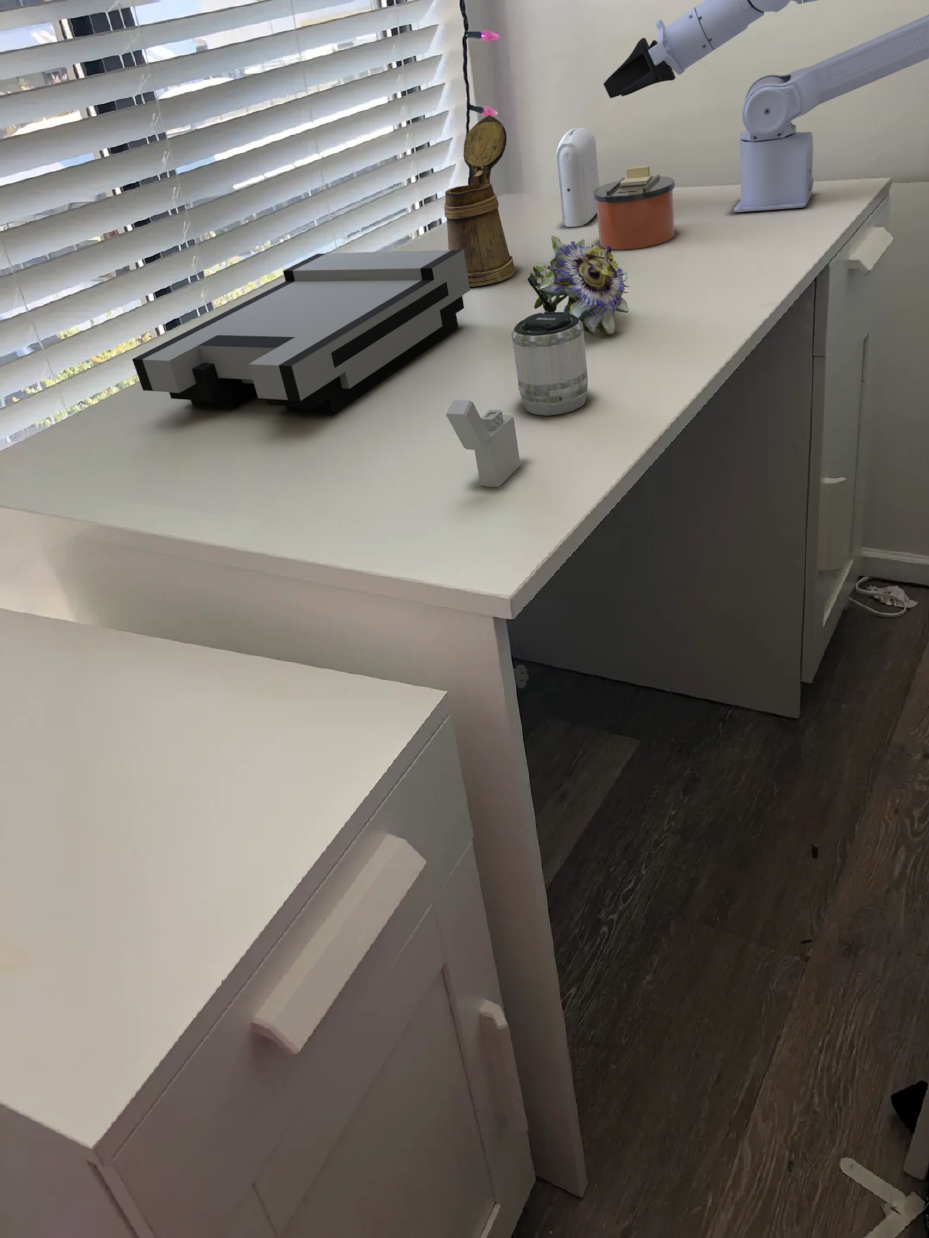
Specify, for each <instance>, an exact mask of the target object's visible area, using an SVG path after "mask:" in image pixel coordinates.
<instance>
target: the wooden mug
mask: <svg viewBox="0 0 929 1238" xmlns="http://www.w3.org/2000/svg"><path fill="white" fill-rule="evenodd" d="M507 140H508V139H507V131H506V128H505V126H504V125H503V123H502V122H501V121H500V120H499V119H497V118H496V117H494V116H492V115H491V114H488V115H486V116H485V117H482V119H480V120H479V121H478V122H476V123H475V124H474V125H473V126H472V128H470V129H469V131H468V132H467V134H466V136H465V139H464V142H463V161H464V163H465V165H467V167H468V169H470V171H471V176H470V177H471V178H470V183H469V184H468V185H467V184H466V185H460V186H454V187H451V188H448V189H447V190H445V192H444V195H445V199H444V200H445V202H444V203H443V209H444V211H443V212H444V217H445V219H446V228H447V231H446V232H447V247H448V249H447V250H464V255H465V261H466V268H467V274H468V281H469V287H470V288H476V287H482V286H487V285H493V284H496V283H500V282H503V281H505V280H508V279H509V278H511V277H512V276H513V275H515V274H516V268H515V263H514V259H513V256H512V255H511V254H510V251H509V247H508V244H507V240H506V235H505V231H504V229H503V224H502V220H501V216H500V211H499V206H500V205H499V200H498V197H497V194H496V193H495V192H494V188H493V185H492V183H491V175H492V174H491V173H492V169H493V168H494V167H495V166H496V165H497V164H498V163H499V161H500V160H501V159H502V157H503V155H504V153H505V150H506V148H507V147H506V146H507Z"/></svg>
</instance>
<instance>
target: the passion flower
mask: <svg viewBox="0 0 929 1238" xmlns="http://www.w3.org/2000/svg"><path fill="white" fill-rule="evenodd" d="M550 239H551V244H552V245H551V246H552V249H553V253H554V254H553V256H554V258H552V259H551V260H550V261H549V265H548V266H546V265H543V264H542V265H538V264H536V265H533V267H532V270H533V272H530V273H529V275H528V278H527V279H526V280H527V282H528V283H529V285H530V287H531V288H532V289H533V290H534V291H535V293H536V294H537V296H538V297H537V299H535V302H534V305H533V308H534V309H535V310H537V309H538V308H540V307H541V306H542V308H543V310H544V312H557V307H558V305H559V304H560V303H561V302H562V301H563V300H565V299H566V298H567V297H568V298H567V299H568V300H567V303H566V305H565V306H564V307H563V311H562V312H565V313H568V314H572V315H574V316H576V317H578V318H579V319H580V321H581V322H582V324H583V331H585V332H586V333H588V334H589V335H591V336H594V334H595V333H596V330H597V331H599V332H600V333H602V334H604V335H606V336H612V335H613V334H614V331H615V327H616V325H615V317H614V314H615V312H619V313H623V314H627V313H629V311H630V307H629V305H628V301H626V299H625V298H624V297H622V296H623V294H629V291H625V290H626V288H630V286H629V285H627V284H625V283H624V282H626V280H627V279H628V271H626V270H623V269H622V268H621V267H619V263H617V261H616V260H615V259H614V254H612V252H613V249H611V247H610V246H605V248H604V249H600V247H599V246H598V245H594V244H591V247H590V246H589V245H588V246H587V245H586V242H585V241H586V240H585V239H584V238H580V239H579V240H578V241H577V242H575V241H574V240H572V241H570V244H569V243H568V244H566V243H563V242H562V241H561V238H560V237H558V236H555V235H552V236H551V238H550ZM548 270H549V271H548ZM543 272H544V273H545V276H544V274H543ZM538 279H540V280H541V282H538ZM552 298H554V299H552Z"/></svg>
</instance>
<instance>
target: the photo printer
mask: <svg viewBox="0 0 929 1238" xmlns="http://www.w3.org/2000/svg"><path fill="white" fill-rule="evenodd" d="M555 160H556V161H555V162H556V168H557V170H556V171H557V178H558V179H557V181H558V190H559V199H560V209H561V219H562V224H563V226H566V227H567V228H578V227H583V226H584V225H585V224H588V223H589V222H591V220H592V219H593V218H595V216H597V215H596V214H597V204H596V200H595V199H594V196H593V192H594V190H595V189H597V188H598V187H600V177H599V165H598V153H597V141H596V138H595V136H594V134H593V132H592V131H591V130H590V129H589V128H586V127H583V126H582V127H573V128H570V129H569V130H568V131H566V132H565V134H564V135H563V136H562V138H561V139H560V141H559V143H558V145H557V147H556V155H555Z"/></svg>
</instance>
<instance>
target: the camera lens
mask: <svg viewBox="0 0 929 1238" xmlns="http://www.w3.org/2000/svg"><path fill="white" fill-rule="evenodd" d="M511 340H512V347H513V354H514V362H515V369H516V370H515V371H516V375H517V376H516V378H517V386H518V391H519V395H520V398H521V401H522V402H523V406H524V409H525V410H526V412H528V413H530V414H533V415H537V416H546V417H547V416H556V415H557V416H558V415H563V414H568V413H570V412H574V411H575V410H578V409H579V408H581V407H582V406H584V405H585V403H586V401H587V393H588V385H589V381H588V380H589V375H588V367H587V366H588V365H587V364H588V363H587V355H586V345H585V344H586V343H585V333H584V329H583V324H582V322H581V321H580V319H579V318H578V317H576V316H574V315H572V314H568V313H565V312H563V311H555V312H545V311H544V312H543V313H542V312H537V313H534V314H532V315H528V316H527V317H525V318H524V319H522V320H520V321H519V322H518V323H517V324H516V325H515V326H514V327H513V329H512V332H511Z"/></svg>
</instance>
